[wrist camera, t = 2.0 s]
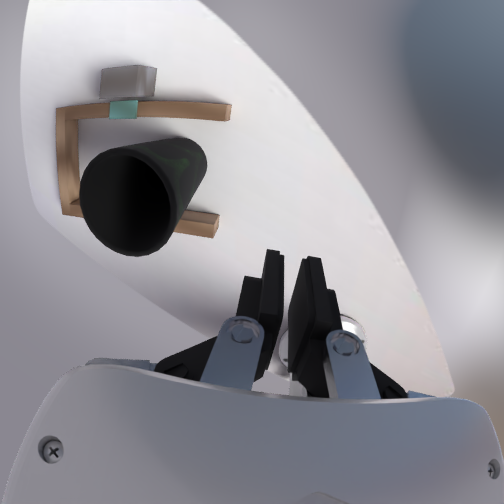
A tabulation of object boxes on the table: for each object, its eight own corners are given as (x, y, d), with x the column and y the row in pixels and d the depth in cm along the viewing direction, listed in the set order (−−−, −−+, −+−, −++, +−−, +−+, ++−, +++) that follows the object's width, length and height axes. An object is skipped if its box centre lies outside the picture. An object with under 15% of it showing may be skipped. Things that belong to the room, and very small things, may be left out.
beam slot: (218, 228, 30) (209, 246, 27) (74, 207, 31) (55, 220, 27) (236, 70, 22) (228, 64, 18) (71, 78, 22) (49, 79, 19)
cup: (143, 189, 29) (79, 240, 18) (153, 121, 25) (80, 141, 15) (208, 207, 29) (169, 270, 19) (225, 136, 25) (186, 162, 15)
